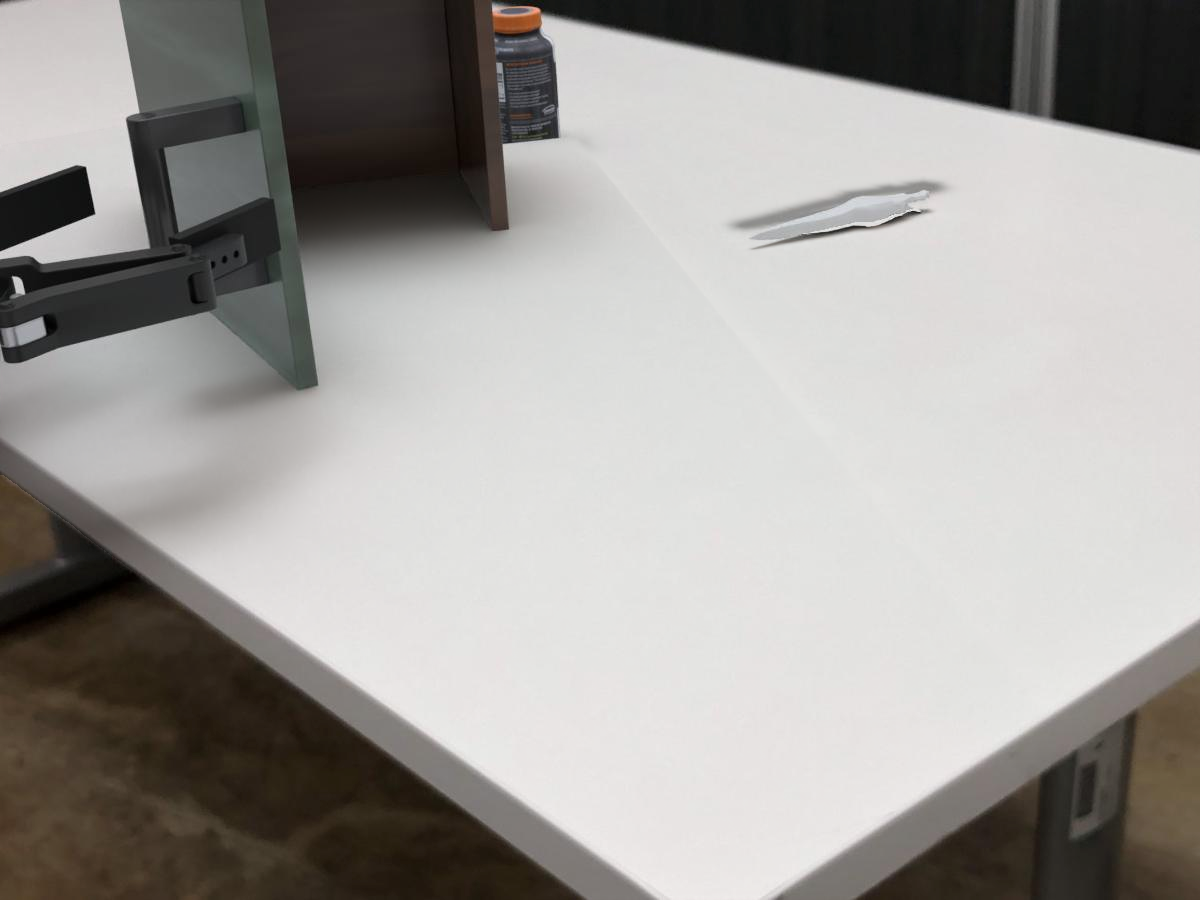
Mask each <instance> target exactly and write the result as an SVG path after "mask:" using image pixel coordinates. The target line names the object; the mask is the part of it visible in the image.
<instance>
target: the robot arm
mask: <svg viewBox="0 0 1200 900" xmlns="http://www.w3.org/2000/svg"><path fill="white" fill-rule="evenodd" d="M89 180H90V179H89V175H88V169H87V166H85V165H78V164H75V165H72V166H70V167H67V168H65V169H61V170H58V171H56V172H52V173H50V174H47V175H45V176H41V177H38V178H36V179H33V180H31V181H27V182H25V183H22V184H19V185H16V186H14V187H11V188H8V189H5V190H2V191H0V252H3V251H6V250H8V249H10V248H14V247H16V246H19V245H21V244H24V243H26V242H28V241H31V240H34V239H36V238H39V237H41V236H43V235H47V234H49V233H51V232H54V231H57V230H59V229H62V228H64V227H68V226H69V225H72V224H74V223H77V222H80V221H82V220H85V219H87V218H90V217H93V216H95V215H96V209H95V204H94V199H93V195H92V189H91V185H90V181H89ZM168 239H169V244H170V246H163V247H156V248H150V247H149V248H142V249H137V250H129V251H128V250H127V251H121V252H116V253H108V254H102V255H95V256H88V257H87V256H86V257H80V258H74V259H67V260H59V261H53V262H47V263H41V262H39V261H38V260H37V259H36V258H35V257H33V256H30V255H20V256H14V257H7V258H0V348H1V350H0V351H1V354H2V358H3V361H4V363H6V364H21V363H25V362H28V361H30V360H32V359H35V358H37V357H40V356H42V355H45V354H47V353H51V352H52V351H55V350H58V349H61V348H65V347H68V346H69V347H70V346H72V345H76V344H80V343H81V344H82V343H85V342H89V341H93V340H97V339H101V338H105V337H110V336H113V335H117V334H121V333H125V332H129V331H134V330H137V329H141V328H142V329H143V328H145V327H151V326H154V325H158V324H162V323H167V322H170V321H174V320H178V319H183V318H187V317H190V316H196V315H199V314H203V313H208V312H209V311H211V310H214V309H215V308H217V306H218V304H217V299H216V293H215V287H214V281H216V280H218V279H220V278H222V277H225V276H227V275H229V274H231V273H233V272H235V271H237V270H240V269H242V268H244V267H246V266H248V265H250V264H252V263H255V262H257V261H259V260H261V259H263V258H265V257H267V256H270V255H272V254H274V253H276V252H278V251H280V250H281V244H280V237H279V230H278V224H277V217H276V210H275V203H274V199H271V198H266V197H262V198H259V199H257V200H254V201H252V202H250V203H247V204H245V205H243V206H240V207H238V208H236V209H233V210H231V211H229V212H226V213H224V214H221V215H219V216H217V217H214V218H212V219H210V220H207V221H205V222H203V223H200V224H198V225H196V226H193V227H191V228H188V229H186V230H184V231H181V232H179V233H177V234H174V235H172V236H170V237H168ZM14 278H18V279H20V281H21V282H22V287H23V291H24V294H23V293H17V290H16V286H15V282H14Z"/></svg>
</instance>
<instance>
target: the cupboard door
mask: <svg viewBox="0 0 1200 900" xmlns="http://www.w3.org/2000/svg"><path fill="white" fill-rule="evenodd" d="M118 3H119V8H120V14H121V19H122V25H123V30H124V35H125V41H126V46H127V51H128V52H127V53H128V57H129V63H130V68H131V69H130V70H131V74H132V79H133V84H134V90H135V95H136V101H137V107H138V113H133V114H130V115H127V117H126V118H125V123H126V129H127V135H128V139H129V145H130V150H131V156H132V161H133V167H134V171H135V177H136V182H137V187H138V192H139V193H138V194H139V197H140V204H141V210H142V214H143V219H144V220H143V221H144V226H145V230H146V236H147V240H148V246H149V248H156V247H163V246H170V244H169V239H168V237H170V236H172V235H174V234H177V233H179V232H181V231H184V230H186V229H188V228H191V227H193V226H196V225H198V224H200V223H203V222H205V221H207V220H210V219H212V218H214V217H217V216H219V215H221V214H224V213H226V212H229V211H231V210H233V209H236V208H238V207H240V206H243V205H245V204H247V203H250V202H252V201H254V200H257V199H259V198H262V197H266V198H271V199H274V203H275V210H276V217H277V224H278V230H279V237H280V244H281V250H280V251H278V252H276V253H274V254H272V255H270V256H267V257H265V258H263V259H261V260H259V261H257V262H255V263H252V264H250V265H248V266H246V267H244V268H242V269H240V270H237V271H235V272H233V273H231V274H229V275H227V276H225V277H222V278H220V279H218V280H216V281H214V287H215V293H216V299H217V304H218V306H217V308H215V309H214V310H211V311H208V312H209V313H210V314H211V315H212V316H213V317H215V318H216V319H217V320H218V321H219V322H220V323H222V324H223V325H224V326H225V327H226V328H227V329H229V330H230V332H232V333H233V334H234V335H235V336H236V337H238V338H239V340H241V342H243V343H244V344H245V345H246V346H248V347H249V348H250V349H251V350H252V351H253V352H254V353H255V354H256V355H257V356H258V357H260V358H261V359H262V360H263V361H264V362H265V363H267V364H268V365H269V366H270V367H271V368H272V369H274V371H276V372H277V373H278V374H279V375H280V376H281V377H282V378H283V379H285V380H286V381H287V382H288V383H289V384H290V385H291V386H293V387H294V388H295V389H296V390H297V391H302V390H303V391H304V390H306V389H310V388H313V387H317V386H319V380H318V373H317V366H316V359H315V352H314V351H315V350H314V344H313V337H312V329H311V323H310V316H309V309H308V301H307V294H306V287H305V279H304V273H303V266H302V259H301V252H300V245H299V239H298V229H297V223H296V217H295V209H294V203H293V195H292V190H291V187H290V180H289V173H288V166H287V159H286V152H285V145H284V138H283V131H282V123H281V116H280V109H279V102H278V95H277V88H276V81H275V74H274V67H273V60H272V52H271V45H270V38H269V31H268V24H267V17H266V10H265V3H264V0H118Z"/></svg>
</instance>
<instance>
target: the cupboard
mask: <svg viewBox="0 0 1200 900" xmlns="http://www.w3.org/2000/svg"><path fill="white" fill-rule="evenodd" d="M264 3H265V10H266V17H267V24H268V31H269V38H270V45H271V52H272V60H273V67H274V74H275V81H276V88H277V95H278V102H279V109H280V116H281V123H282V131H283V138H284V145H285V152H286V159H287V166H288V173H289V180H290V187H291V191H295V190H302V189H311V188H321V187H330V186H331V187H332V186H340V185H348V184H349V185H350V184H356V183H366V182H367V183H368V182H376V181H383V180H384V181H385V180H393V179H402V178H410V177H419V176H428V175H437V174H445V173H455V172H460V174H461V176H462V178H463V179H464V181H465V183H466V186H467V187H468V189H469V191H470V193H471V194H472V197H473V198H474V200H475V202H476V204H477V206H478V208H479V210H480V211H481V214H482V215H483V217H484V219H485V221H486V223H487V225H488V227H489V228H490V231H491V232H499V231H507V230H510V224H509V211H508V210H509V208H508V199H507V196H508V195H507V185H506V184H507V183H506V173H505V171H506V170H505V169H506V168H505V159H504V147H503V145H504V144H503V143H502V130H501V117H500V103H499V90H498V77H497V64H496V51H495V37H494V24H493V0H264Z"/></svg>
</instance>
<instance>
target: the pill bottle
mask: <svg viewBox="0 0 1200 900" xmlns="http://www.w3.org/2000/svg"><path fill="white" fill-rule="evenodd" d="M492 11H493V10H492ZM493 24H494V37H495V51H496V64H497V77H498V90H499V103H500V117H501V130H502V143H503V145H509V144H517V143H528V142H536V141H544V140H545V141H547V140H554V139H555V140H556V139H561V138H562V135H561V121H560V105H559V92H558V91H559V90H558V75H557V61H556V47H555V42H554V40H553V38H552V37H551V36H550V35H549V34H547V33H545V32H543V30H542V25H543V21H542V12H541V9H540V8H539V7H535V6H526V5H525V6H524V5H523V6H521V5H519V6H508V7H502V8H498V9H495V10H494V11H493Z"/></svg>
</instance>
